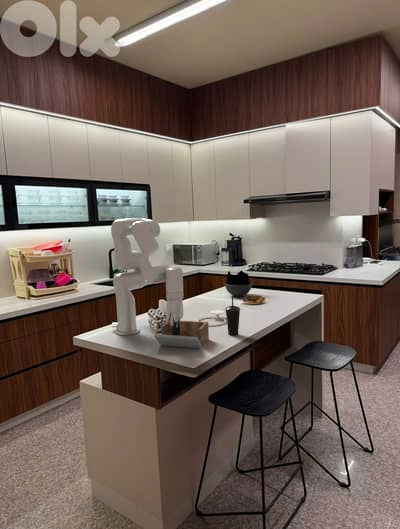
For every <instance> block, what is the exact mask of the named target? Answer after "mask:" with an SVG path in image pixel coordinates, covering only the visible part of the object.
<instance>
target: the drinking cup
mask: <svg viewBox="0 0 400 529" xmlns="http://www.w3.org/2000/svg"><path fill="white" fill-rule="evenodd" d="M224 310H225V317H226V323H227V324H226V326H227V332H228V336H229V335H230V336H229V337H237V336H236V335H238V336H239V327H240V312H241V307H239V306H237V305H234V296H233V295H231V305H229V306H227V307H225V308H224Z"/></svg>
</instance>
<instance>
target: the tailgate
mask: <svg viewBox="0 0 400 529" xmlns="http://www.w3.org/2000/svg"><path fill="white" fill-rule="evenodd" d="M154 338H155V340H156V341H157V342H158V344H159V346H163V347H164V346H166V347H175V348H176V347H179V348H189V349H190V348H191V349H202V348H203V347H202V346H201V344H200V342H199V340H198V338H197V337H190V336H175V335H161V333H160V334H158V333H155V334H154Z"/></svg>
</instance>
